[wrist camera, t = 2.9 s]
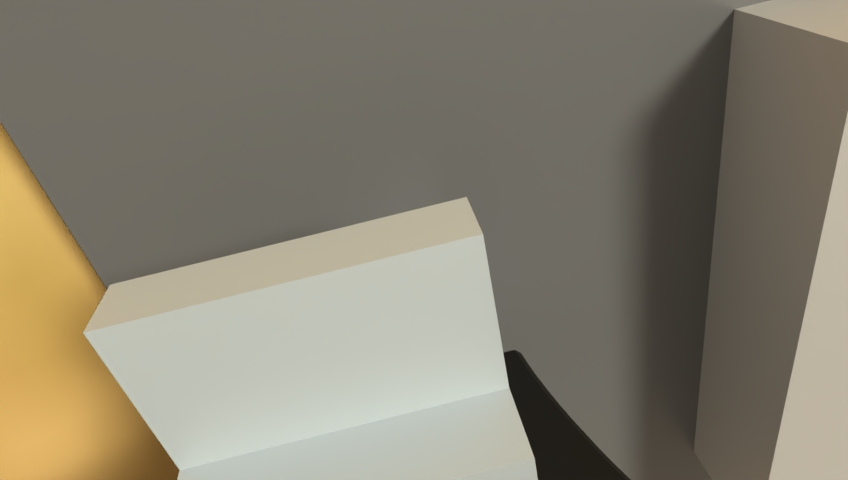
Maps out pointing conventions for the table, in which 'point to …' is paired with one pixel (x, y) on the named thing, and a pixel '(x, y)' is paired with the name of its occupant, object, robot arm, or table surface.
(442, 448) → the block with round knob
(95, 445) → the table surface
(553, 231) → the servo chassis
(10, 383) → the table surface
